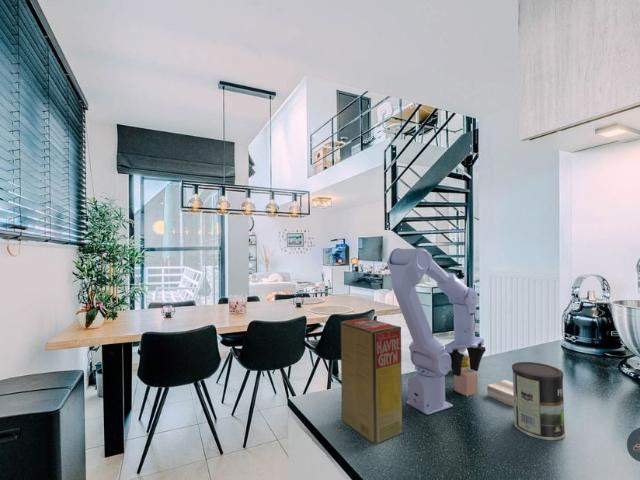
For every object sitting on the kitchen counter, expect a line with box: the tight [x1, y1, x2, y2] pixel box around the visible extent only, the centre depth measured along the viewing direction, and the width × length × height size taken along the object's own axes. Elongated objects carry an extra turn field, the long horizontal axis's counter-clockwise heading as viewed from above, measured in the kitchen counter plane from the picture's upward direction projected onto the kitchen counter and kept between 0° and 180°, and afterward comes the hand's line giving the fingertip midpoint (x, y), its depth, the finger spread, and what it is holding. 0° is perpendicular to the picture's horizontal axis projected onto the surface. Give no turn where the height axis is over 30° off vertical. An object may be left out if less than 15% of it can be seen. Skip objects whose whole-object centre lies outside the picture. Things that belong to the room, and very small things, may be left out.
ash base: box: [486, 379, 514, 408], centre depth 96 cm, size 8×8×3 cm
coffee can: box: [511, 361, 566, 442], centre depth 80 cm, size 10×10×14 cm
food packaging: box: [340, 317, 404, 446], centre depth 83 cm, size 13×9×25 cm
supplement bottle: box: [458, 348, 470, 370], centre depth 116 cm, size 5×5×10 cm
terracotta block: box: [453, 368, 478, 397], centre depth 101 cm, size 4×4×6 cm
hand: (465, 372), depth 101 cm, fingers open, 7 cm apart
